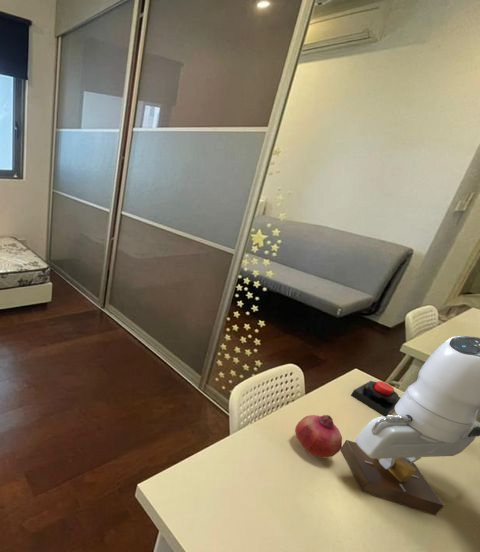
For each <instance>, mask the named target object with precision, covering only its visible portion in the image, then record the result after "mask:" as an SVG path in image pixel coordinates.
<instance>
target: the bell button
mask: <svg viewBox="0 0 480 552" xmlns="http://www.w3.org/2000/svg"><path fill="white" fill-rule="evenodd" d="M376 382H377V383H376V384H375V386H374V388H375V389H376V390H377V391H378V392H380V393H382V394H384V395H387V396H390V395H391V394H392V393H393V391H395V388H394V387H393V386H391V384H388V382H387V383H386V382H384V381H380V380H379V381H376Z"/></svg>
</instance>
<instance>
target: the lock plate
mask: <svg viewBox="0 0 480 552" xmlns="http://www.w3.org/2000/svg"><path fill="white" fill-rule="evenodd" d="M340 451H341V453H342V455H343V457H344V459H345V461H346V463H347V465H348V467H349V469H350V471H351V473H352V475H353V477H354V479H355V481H356V483H357V485H358V488H359V489H360V490H361V492H362V493H365V494H368V495H371V496H374V497H377V498H380V499H384V500H386V501H388V502H389V501H390V502H393V503H396V504H399V505H401V506H405V507H408V508H411V509H414V510H418V511H421V512H424V513H427V514H430V515H433V516H436V515H437V514H438V513H440V511H441V510H442V509H443V508H444V507H445V504H444V503H443V501H441V499H440V498H439V496H438V495H437V494H436V492H435V490H434V489H433V488H432V486H431V485H430V484H429V482H428V481H427V479H426V478H425V477H424V475H423V474H422V473H421V470H420V469H419V468H418V467H417V466H416V464H415V462H413V463H411V465H412V466H413V467H414V468H415V469H416V471H415V472H414V474H413V475H412V476H411V477H410V479H409V480H408V481H407V482H400V481H399V480H398V479H397V478H396V477H395V476H394V475H393V474H392V473H391V472H390V471H389V470H388V469H385V468H384V467H383V466H382V465H381V464H380V462H379V460H378V459H372V458H370V457H369V456H368V455H366V454H365V453H364V452H363V451H362V450H361V449H360V447H359V446H358V445H357V443H356V441H352V440H348V439H346V440H345V441H344V442H343V443H342V447H341V449H340Z"/></svg>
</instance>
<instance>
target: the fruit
mask: <svg viewBox="0 0 480 552" xmlns="http://www.w3.org/2000/svg"><path fill="white" fill-rule="evenodd" d="M333 420H334V419H333V418H332V416H331V415H328V414H323V415H316V414H310V415H306V416H304V417H302V419H300V421H298V423H297V424H296V426H295V428H294V434H295V437H296V439H297V441H298V442H299V444H300V445H301V446H302V448H303V449H304V450H305V451H306V452H307V453H309V455H311V456H315V457H318V458H322V459H324V458H331V457H334V456H335V455H337V454H338V453H339V452H340V451H341V447H342V446H343V436H342V434H341V432H340V429H339V428H338V427H337V426H336V425H335V424H334V421H333Z"/></svg>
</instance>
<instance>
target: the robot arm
mask: <svg viewBox="0 0 480 552" xmlns="http://www.w3.org/2000/svg"><path fill="white" fill-rule="evenodd" d="M400 397H401V398H400V399H399V401H398V402H397V404H396V405H395V411H394V412H395V413H396V414H397V415H393V414H390V415H388V416H385V417H384V416H378V417H375V418H373V419H372V420H370V421H369V423H368V424H366V425H365V426H364V428H363V429H362V430H361V432H360V433H359V434H358V435H357V436H356V438H355V442H356V443H357V445H358V446H359V447H360V449H361V450H362V451H363V452H364V453H365V454H366V455H368V456H369V457H370V458H372V459H380V458H381V459H380V460H379V462H380V464H381V465H382V466H383V467H384V468H385V469H394V468H395V467H396V465H397V463H396V462H395V459H398V458H404V459H405V460H406V461H407V462H408V463H409V464H411V463H415V462H417V461H419V460H420V459H421V460H422V458H434V457H435V458H436V457H437V458H439V457H454V456H456V455H459V454H461V453H462V452H463V451H465V450H466V449H467V448H468V446H470V445H471V444H472V443H473V442H474V441H475V440H476V438H477V437H480V422H479V421H478V420H477V419H478V415H479V412H480V337H479V336H471V335H455V336H452V337H450V338H448V339H446V340H445V341H444V342H442V343H441V344H440V345H439V346H438V347H437V348H436V349H435V350H434V351H433V352H432V353H431V355H429V356H428V358H427V359H426V360H425V362H424V363H423V364H422V366H421V368H420V369H419V371H418V375H417V379H416V380H415V381H413V383H411V384H410V385H408V386H407V388H406V389H405V391H404V392H403V394H402V395H401V396H400Z"/></svg>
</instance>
